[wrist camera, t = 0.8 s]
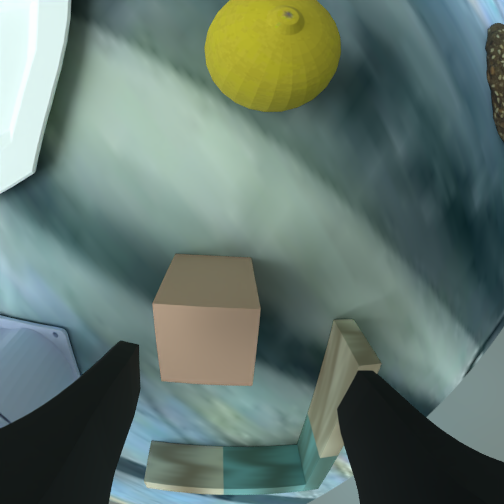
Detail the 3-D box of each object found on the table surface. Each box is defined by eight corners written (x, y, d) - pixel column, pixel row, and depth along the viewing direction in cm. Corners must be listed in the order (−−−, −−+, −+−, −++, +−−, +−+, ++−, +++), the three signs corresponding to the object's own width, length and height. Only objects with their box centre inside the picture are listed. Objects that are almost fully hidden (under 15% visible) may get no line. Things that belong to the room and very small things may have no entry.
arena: (153, 448, 24) (147, 487, 19) (123, 311, 19) (98, 357, 14) (308, 450, 26) (317, 488, 21) (353, 319, 20) (381, 363, 15)
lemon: (329, 76, 15) (401, 34, 7) (262, 139, 16) (291, 133, 8) (259, 14, 13) (281, -65, 5) (189, 75, 14) (157, 20, 7)
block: (177, 318, 19) (161, 381, 13) (175, 253, 18) (152, 303, 12) (245, 321, 19) (252, 385, 14) (250, 257, 18) (260, 308, 12)
